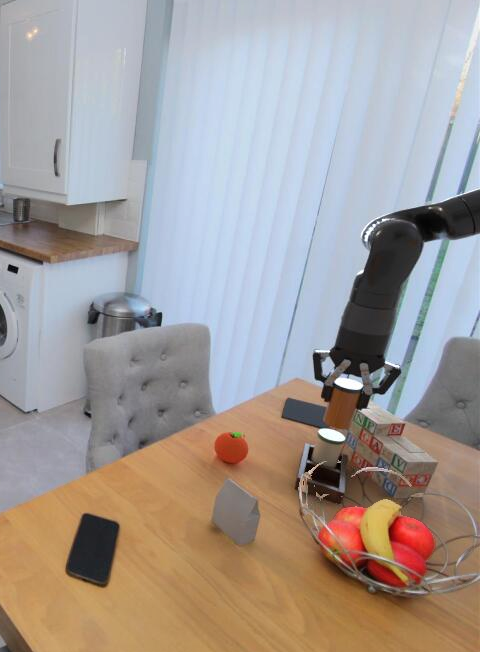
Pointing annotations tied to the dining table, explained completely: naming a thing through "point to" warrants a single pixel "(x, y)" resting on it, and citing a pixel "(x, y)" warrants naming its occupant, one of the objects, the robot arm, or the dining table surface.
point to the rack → (323, 476)
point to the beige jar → (328, 447)
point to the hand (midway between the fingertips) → (342, 404)
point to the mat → (305, 413)
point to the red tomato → (231, 447)
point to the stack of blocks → (387, 452)
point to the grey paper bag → (236, 513)
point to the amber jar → (343, 403)
